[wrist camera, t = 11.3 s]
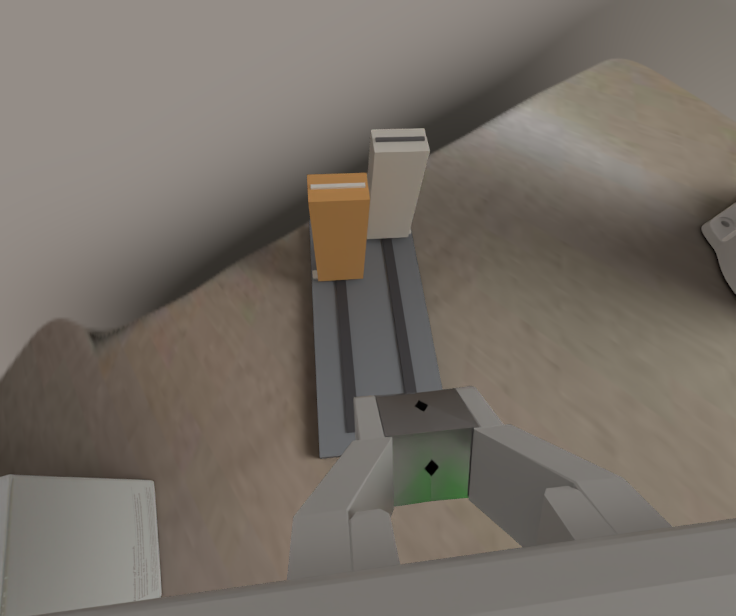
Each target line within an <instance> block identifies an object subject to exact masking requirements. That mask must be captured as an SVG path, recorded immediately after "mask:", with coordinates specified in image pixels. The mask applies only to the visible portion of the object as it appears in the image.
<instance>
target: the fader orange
mask: <svg viewBox="0 0 736 616" xmlns="http://www.w3.org/2000/svg"><path fill="white" fill-rule="evenodd" d="M307 183H308V203H309V210H310V219H311V227H312V235H313V243H314V251H315V259H316V267H317V275H318V281H332V280H348V279H363V274H364V263H365V252H366V240H367V229H368V218H369V206H370V196H369V188H368V181H367V174H366V173H348V174H347V173H346V174H314V175H307Z"/></svg>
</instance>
